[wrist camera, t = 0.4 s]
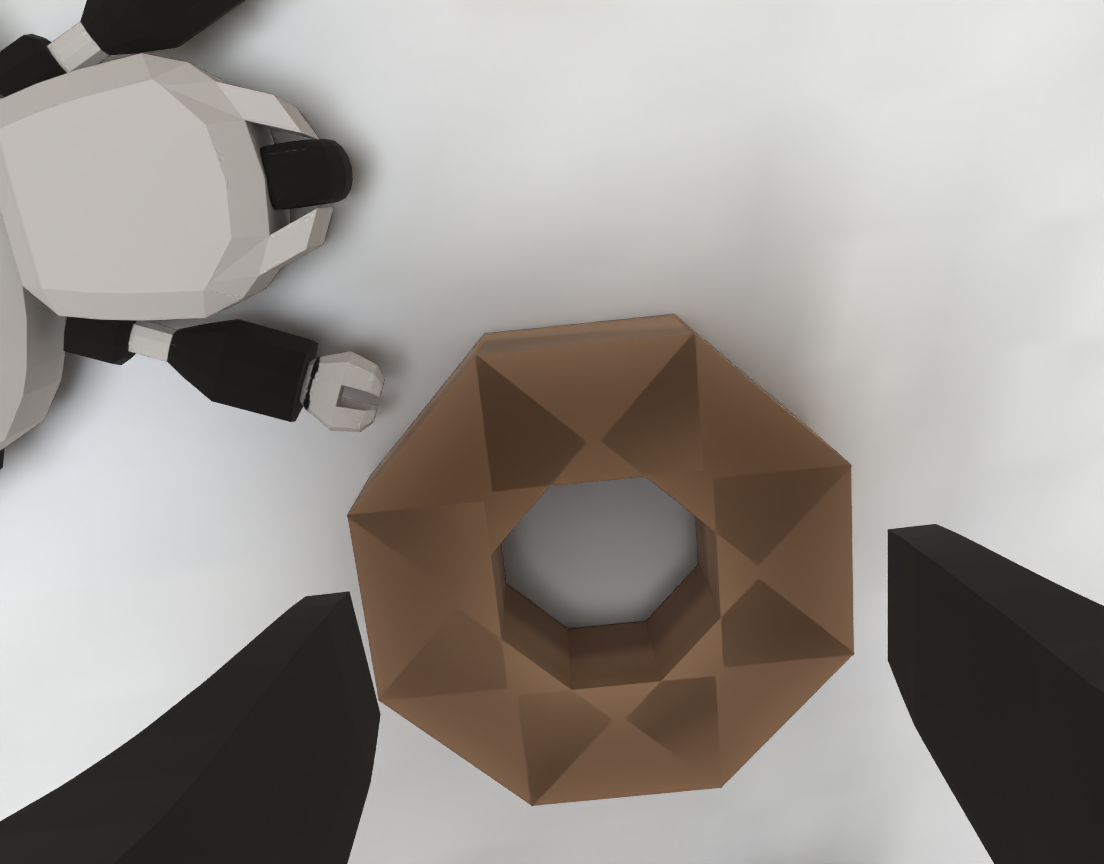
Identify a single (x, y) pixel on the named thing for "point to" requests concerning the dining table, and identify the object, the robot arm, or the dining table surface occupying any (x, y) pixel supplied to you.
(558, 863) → the dining table surface
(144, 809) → the robot arm
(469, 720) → the walnut bead
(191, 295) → the robot toy
